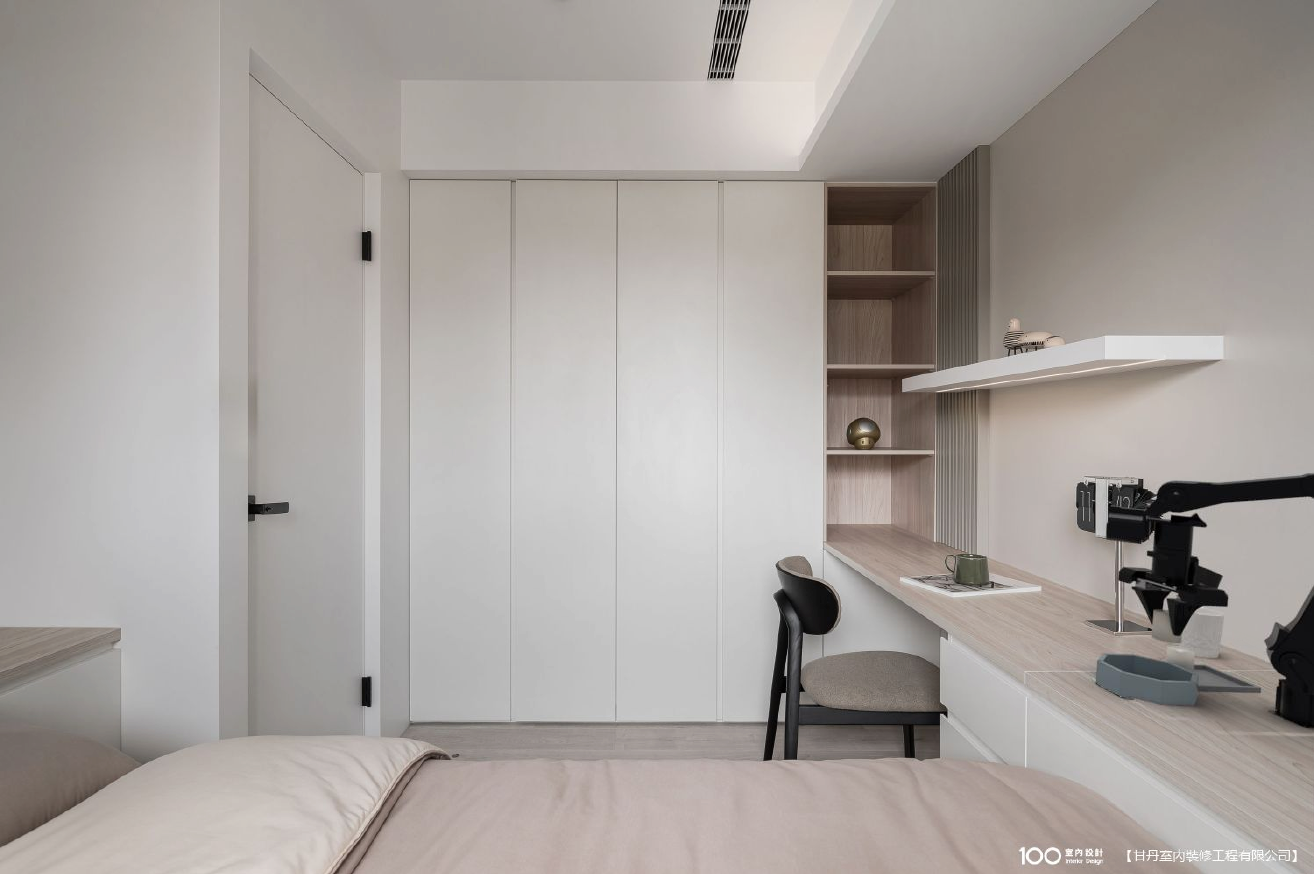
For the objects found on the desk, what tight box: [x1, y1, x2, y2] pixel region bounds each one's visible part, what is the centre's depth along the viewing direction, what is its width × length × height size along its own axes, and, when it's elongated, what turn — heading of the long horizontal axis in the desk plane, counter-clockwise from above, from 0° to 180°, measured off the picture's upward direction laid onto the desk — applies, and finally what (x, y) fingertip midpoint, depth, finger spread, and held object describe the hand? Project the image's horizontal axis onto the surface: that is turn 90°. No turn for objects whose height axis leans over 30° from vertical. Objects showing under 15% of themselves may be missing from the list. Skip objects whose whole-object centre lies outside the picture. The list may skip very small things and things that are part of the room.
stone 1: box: [1151, 608, 1182, 644], centre depth 124 cm, size 4×4×5 cm
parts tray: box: [1194, 663, 1262, 694], centre depth 130 cm, size 12×13×2 cm
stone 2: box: [1165, 644, 1196, 672], centre depth 132 cm, size 4×4×5 cm
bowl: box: [1095, 652, 1199, 706], centre depth 124 cm, size 15×15×4 cm
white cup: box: [1178, 606, 1225, 659], centre depth 147 cm, size 8×8×10 cm
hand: (1166, 631), depth 124 cm, fingers closed on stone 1, 4 cm apart
